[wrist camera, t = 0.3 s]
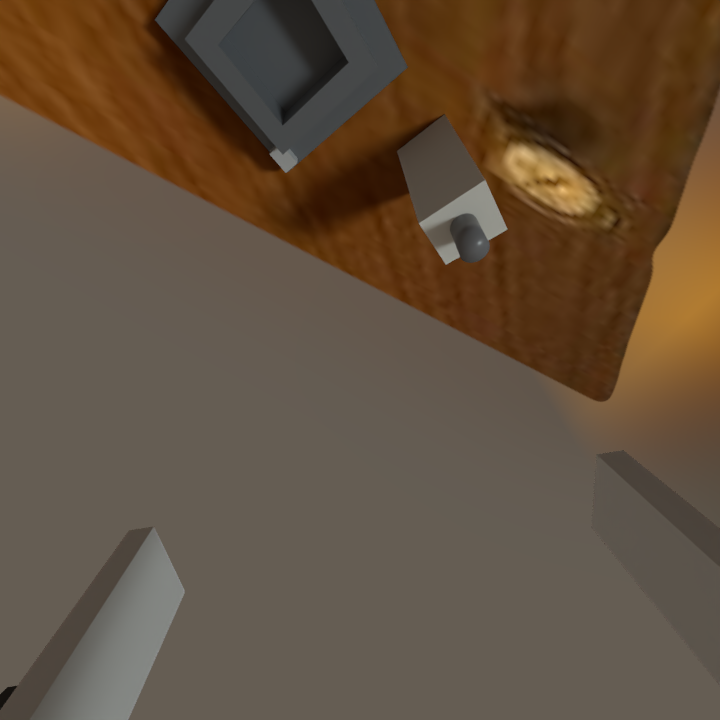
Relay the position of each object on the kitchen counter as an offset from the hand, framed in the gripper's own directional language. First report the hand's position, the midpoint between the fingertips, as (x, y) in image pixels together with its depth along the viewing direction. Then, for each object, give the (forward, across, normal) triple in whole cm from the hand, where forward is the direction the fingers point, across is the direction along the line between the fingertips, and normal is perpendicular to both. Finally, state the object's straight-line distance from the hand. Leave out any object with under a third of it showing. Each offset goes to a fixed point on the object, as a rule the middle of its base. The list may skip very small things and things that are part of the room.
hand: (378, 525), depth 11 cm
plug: (+31, +10, +14) cm, 35 cm away
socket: (+26, -1, +22) cm, 35 cm away
